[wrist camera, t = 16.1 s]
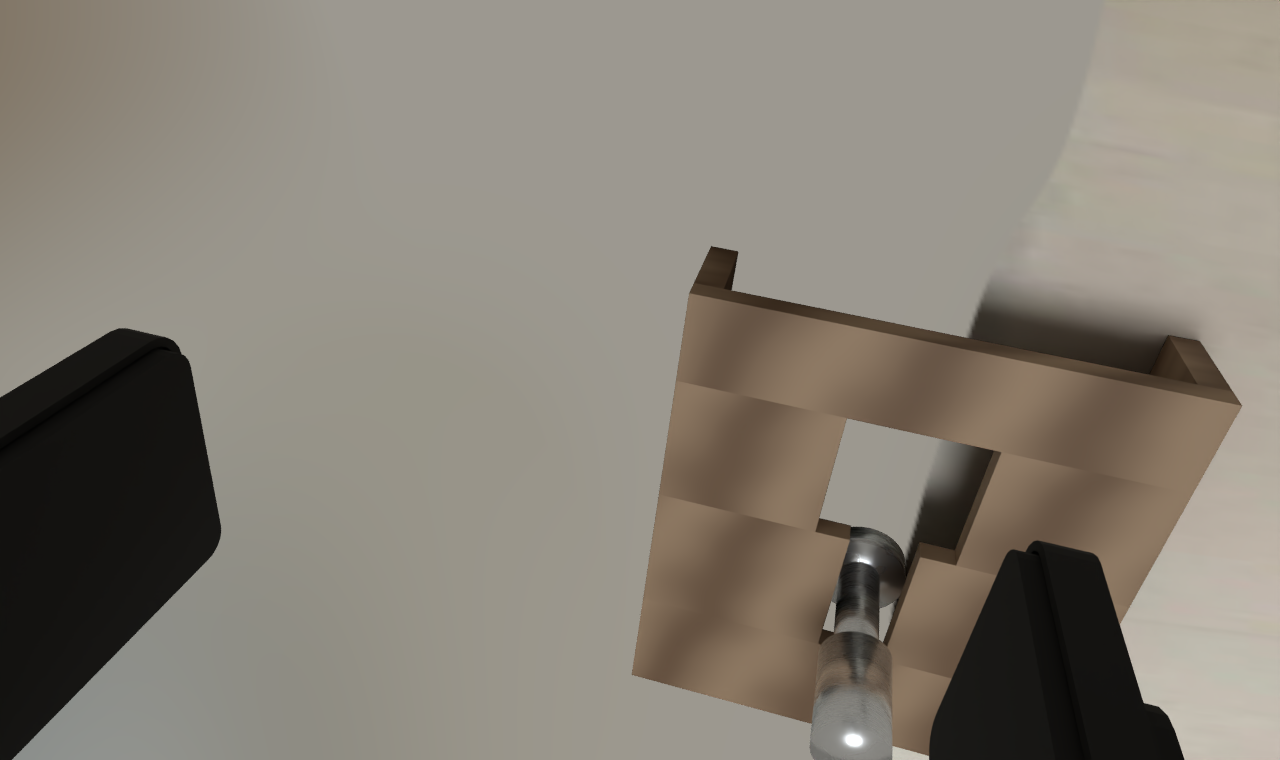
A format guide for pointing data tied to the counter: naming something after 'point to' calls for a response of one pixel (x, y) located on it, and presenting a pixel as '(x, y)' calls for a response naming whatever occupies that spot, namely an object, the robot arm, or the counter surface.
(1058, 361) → the keyhole plate
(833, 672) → the keyhole bolt
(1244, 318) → the counter surface
